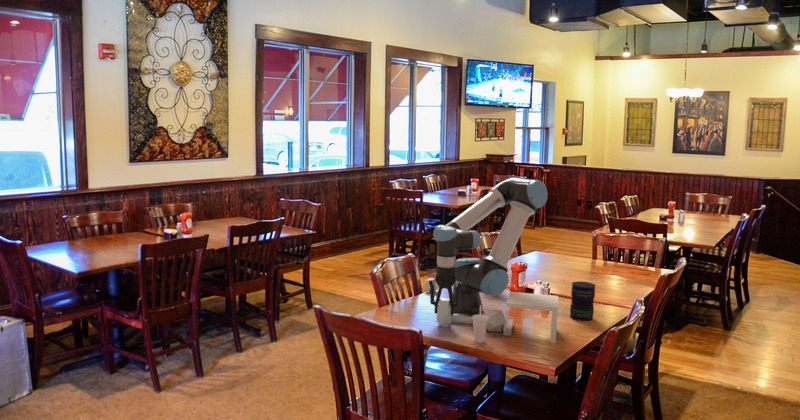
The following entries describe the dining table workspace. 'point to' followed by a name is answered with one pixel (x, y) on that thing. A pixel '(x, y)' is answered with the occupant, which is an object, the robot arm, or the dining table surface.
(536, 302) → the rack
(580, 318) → the storage jar
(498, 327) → the die
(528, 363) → the dining table surface
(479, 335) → the smoothie
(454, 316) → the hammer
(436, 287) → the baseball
